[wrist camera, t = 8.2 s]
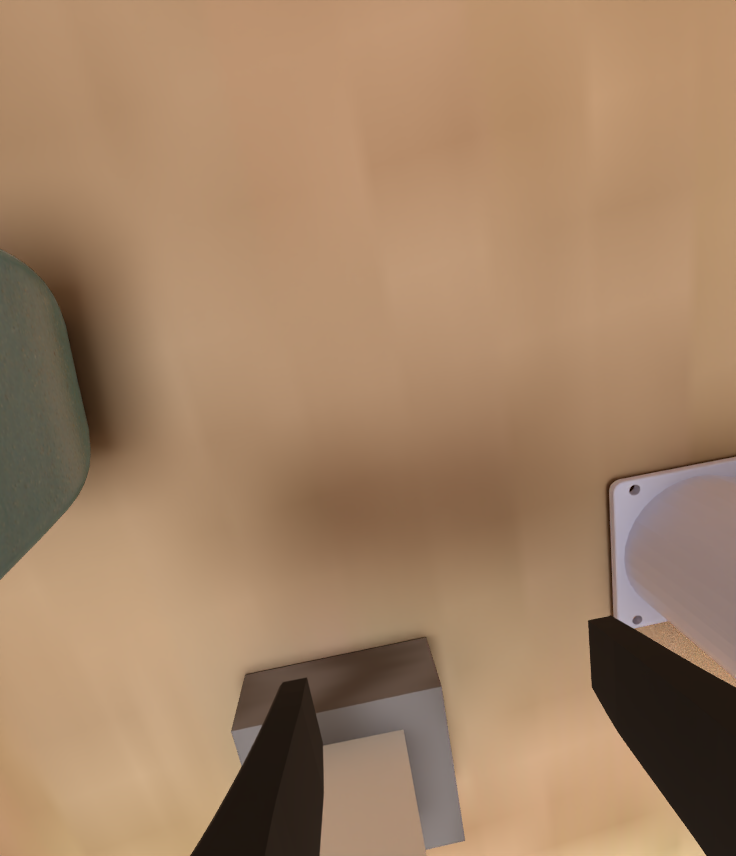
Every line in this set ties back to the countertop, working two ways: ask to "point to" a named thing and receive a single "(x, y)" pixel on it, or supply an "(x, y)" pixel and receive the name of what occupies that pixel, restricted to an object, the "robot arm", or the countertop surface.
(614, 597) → the robot arm
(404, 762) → the cream block
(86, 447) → the flower pot
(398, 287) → the countertop surface
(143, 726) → the countertop surface
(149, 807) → the countertop surface
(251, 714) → the charcoal plinth
